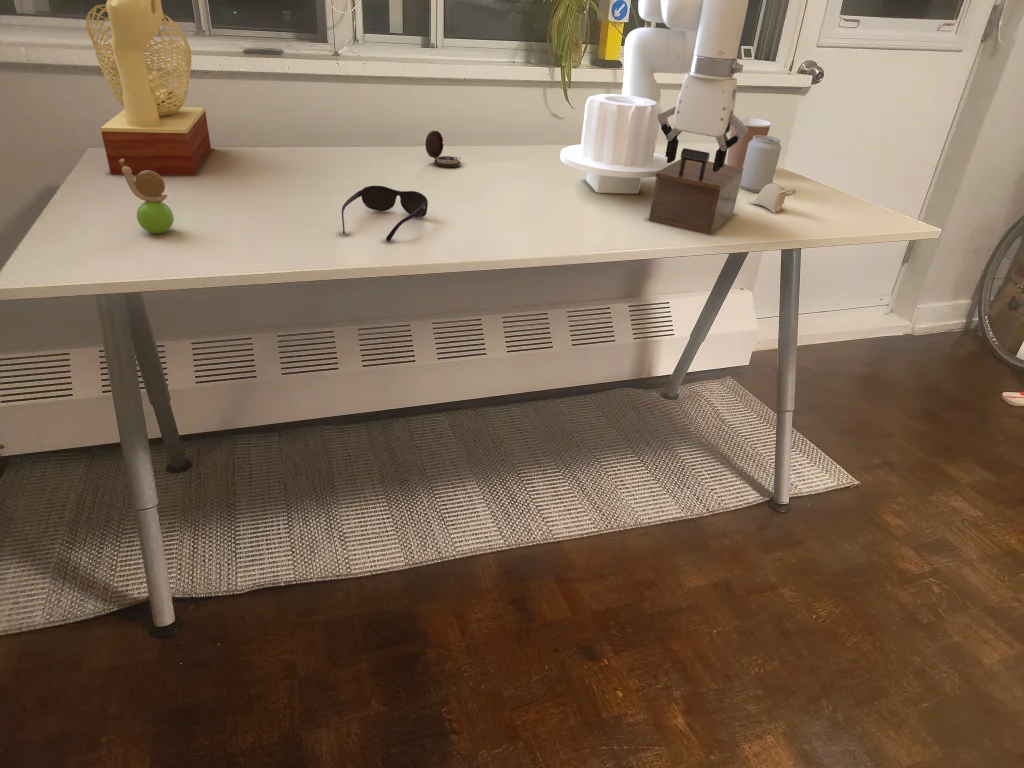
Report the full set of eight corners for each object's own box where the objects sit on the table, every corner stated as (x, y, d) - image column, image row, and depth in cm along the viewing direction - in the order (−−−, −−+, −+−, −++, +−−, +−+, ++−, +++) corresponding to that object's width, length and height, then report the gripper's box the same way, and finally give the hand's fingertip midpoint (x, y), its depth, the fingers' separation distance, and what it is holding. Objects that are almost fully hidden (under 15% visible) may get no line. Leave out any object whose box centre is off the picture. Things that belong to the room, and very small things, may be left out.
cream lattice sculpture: (194, 177, 146) (163, -16, 128) (99, 176, 143) (53, -23, 125) (213, 148, 167) (187, -22, 149) (130, 146, 163) (94, -28, 145)
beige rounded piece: (764, 202, 160) (771, 178, 158) (792, 213, 154) (798, 189, 151) (751, 203, 159) (757, 179, 156) (778, 215, 152) (784, 190, 150)
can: (771, 195, 166) (785, 142, 160) (739, 191, 167) (751, 138, 161) (768, 186, 172) (781, 136, 166) (737, 183, 173) (749, 132, 167)
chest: (710, 234, 138) (720, 189, 133) (648, 220, 143) (656, 176, 138) (732, 214, 151) (742, 172, 146) (675, 201, 156) (683, 160, 151)
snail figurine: (141, 226, 121) (126, 154, 114) (180, 227, 121) (167, 156, 115) (129, 237, 116) (112, 163, 110) (169, 238, 117) (156, 165, 110)
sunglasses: (432, 217, 135) (433, 191, 132) (403, 244, 122) (403, 216, 119) (366, 208, 137) (365, 182, 135) (330, 233, 124) (328, 205, 121)
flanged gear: (682, 204, 154) (700, 113, 144) (571, 202, 150) (582, 108, 140) (645, 173, 175) (659, 92, 165) (547, 171, 171) (555, 87, 161)
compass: (450, 169, 166) (451, 137, 162) (423, 163, 169) (423, 131, 165) (470, 163, 172) (471, 132, 168) (443, 157, 175) (444, 126, 171)
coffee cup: (745, 163, 192) (756, 117, 186) (768, 173, 184) (780, 125, 178) (713, 163, 189) (723, 116, 183) (734, 174, 181) (746, 125, 175)
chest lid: (719, 190, 133) (726, 158, 130) (655, 176, 138) (660, 146, 135) (742, 172, 146) (749, 143, 143) (683, 160, 151) (689, 132, 148)
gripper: (766, 72, 126) (743, 170, 135) (673, 60, 133) (657, 154, 142) (756, 76, 120) (732, 178, 129) (659, 63, 127) (643, 161, 136)
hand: (693, 165), depth 135 cm, fingers open, 8 cm apart
